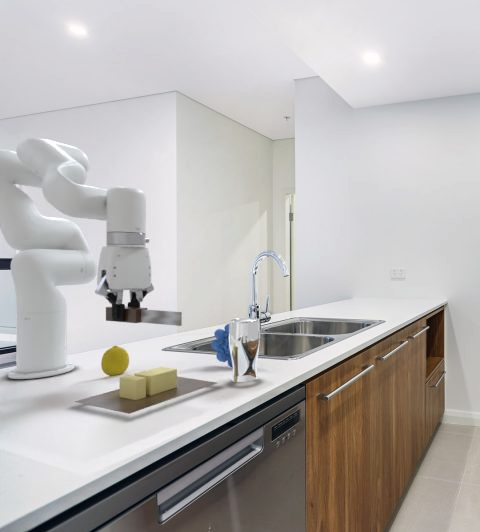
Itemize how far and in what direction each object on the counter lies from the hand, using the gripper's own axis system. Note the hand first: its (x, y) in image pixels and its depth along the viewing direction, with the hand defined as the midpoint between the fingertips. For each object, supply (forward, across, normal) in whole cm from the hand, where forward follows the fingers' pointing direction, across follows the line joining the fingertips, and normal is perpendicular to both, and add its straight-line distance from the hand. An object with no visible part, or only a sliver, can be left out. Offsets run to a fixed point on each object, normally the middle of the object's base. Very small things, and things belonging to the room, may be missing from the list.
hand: (126, 319), depth 92 cm
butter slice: (+14, +8, +14) cm, 21 cm away
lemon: (+15, -2, -7) cm, 17 cm away
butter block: (+14, +4, +14) cm, 20 cm away
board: (+15, +4, +14) cm, 21 cm away
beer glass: (+15, -10, +26) cm, 31 cm away
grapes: (+15, -20, +14) cm, 28 cm away
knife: (0, 0, +6) cm, 6 cm away
